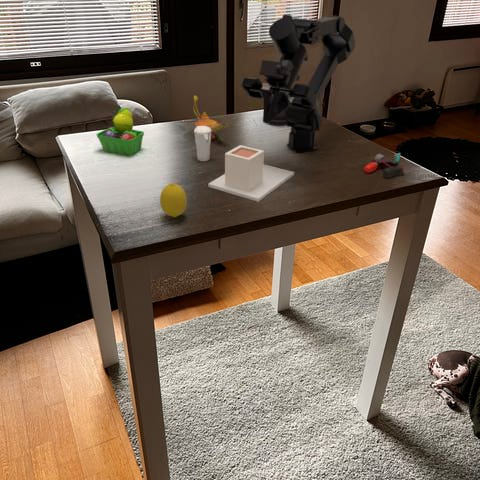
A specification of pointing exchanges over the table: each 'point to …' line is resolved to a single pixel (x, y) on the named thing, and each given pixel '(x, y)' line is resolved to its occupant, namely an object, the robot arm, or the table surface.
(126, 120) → the fruit basket
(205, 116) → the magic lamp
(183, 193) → the lemon
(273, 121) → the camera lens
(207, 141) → the takeaway coffee cup
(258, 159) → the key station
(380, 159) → the toy gun
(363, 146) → the table surface
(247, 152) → the salmon pink square block
